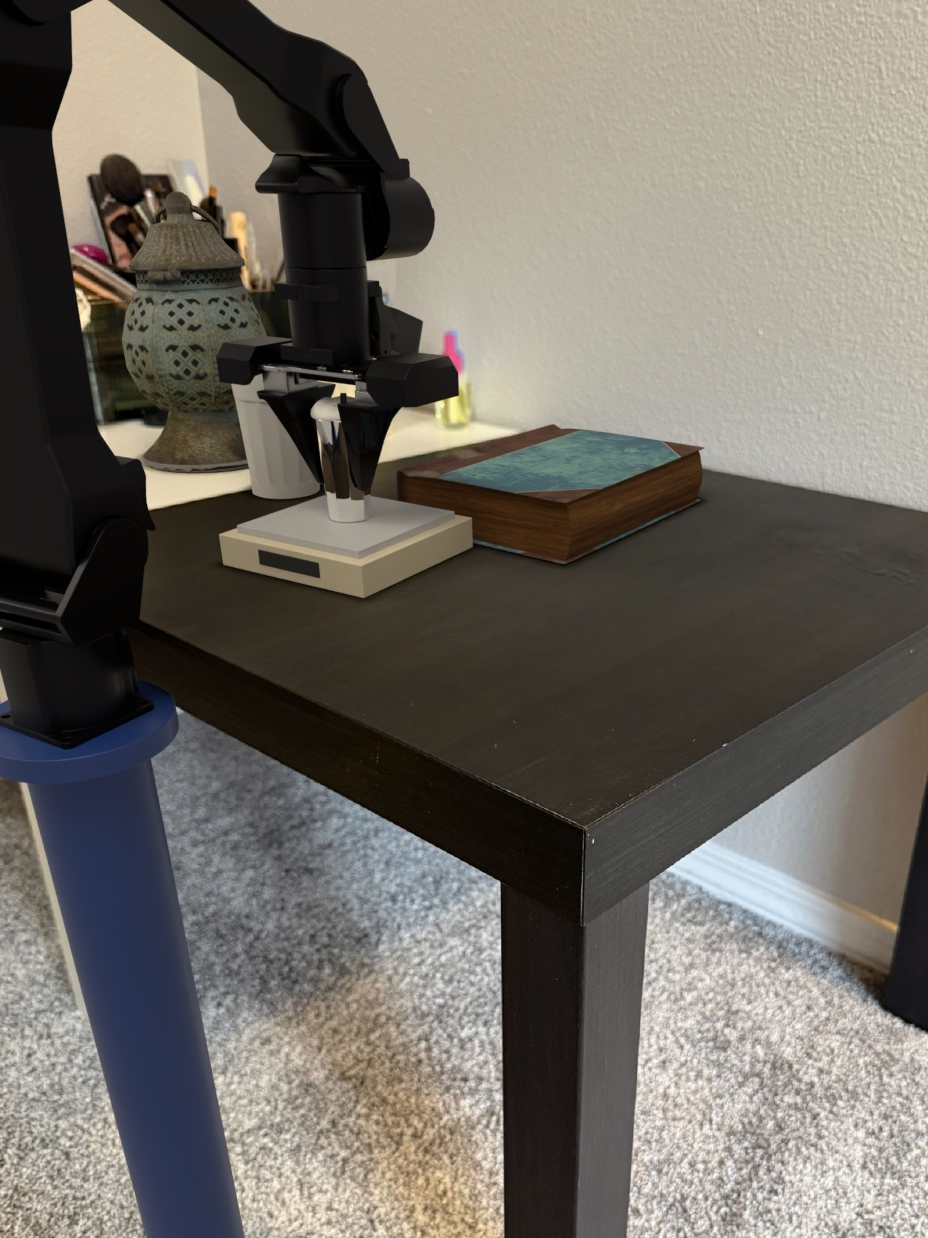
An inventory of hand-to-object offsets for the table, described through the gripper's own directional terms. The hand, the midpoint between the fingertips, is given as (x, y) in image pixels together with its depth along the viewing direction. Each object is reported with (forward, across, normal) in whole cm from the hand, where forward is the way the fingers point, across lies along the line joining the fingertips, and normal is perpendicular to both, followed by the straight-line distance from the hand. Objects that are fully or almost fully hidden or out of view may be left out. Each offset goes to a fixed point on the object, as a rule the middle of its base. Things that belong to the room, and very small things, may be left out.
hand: (344, 486), depth 84 cm
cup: (+6, +18, -12) cm, 23 cm away
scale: (+6, 0, 0) cm, 6 cm away
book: (+6, -8, -19) cm, 21 cm away
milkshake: (+3, 0, 0) cm, 3 cm away
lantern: (+6, +34, -18) cm, 39 cm away
